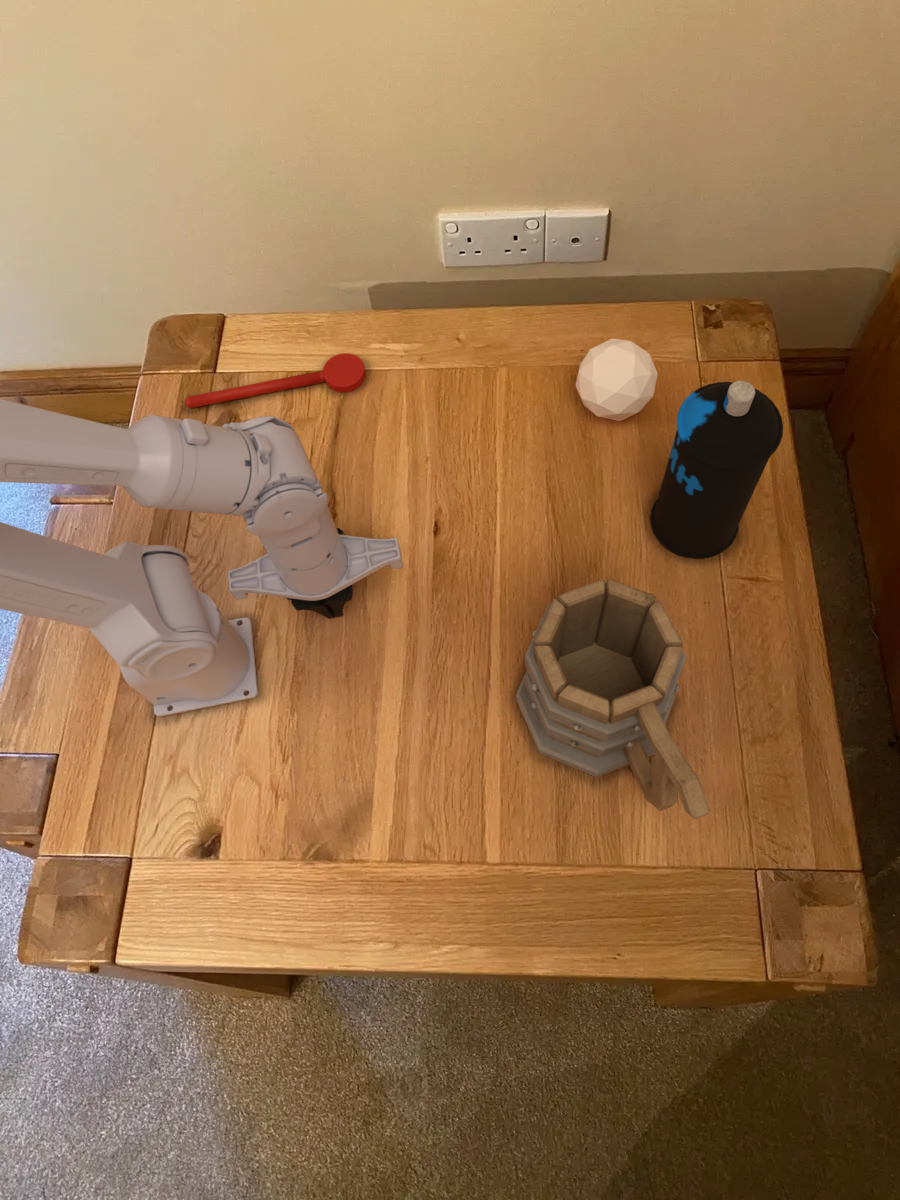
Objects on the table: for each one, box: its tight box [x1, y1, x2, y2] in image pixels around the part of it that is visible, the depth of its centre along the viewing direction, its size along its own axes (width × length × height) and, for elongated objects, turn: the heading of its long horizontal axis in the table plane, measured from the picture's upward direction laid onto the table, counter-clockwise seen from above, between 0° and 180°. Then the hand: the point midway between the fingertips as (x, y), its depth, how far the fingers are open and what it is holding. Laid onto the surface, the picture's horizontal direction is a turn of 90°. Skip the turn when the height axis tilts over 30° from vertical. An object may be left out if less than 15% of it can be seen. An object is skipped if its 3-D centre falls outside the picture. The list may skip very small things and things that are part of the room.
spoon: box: [184, 352, 366, 409], centre depth 94 cm, size 19×4×1 cm, turn 100°
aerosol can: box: [650, 380, 784, 560], centre depth 75 cm, size 8×8×20 cm
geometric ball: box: [575, 338, 658, 422], centre depth 87 cm, size 8×8×8 cm
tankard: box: [515, 578, 711, 820], centre depth 70 cm, size 20×13×15 cm, turn 21°
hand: (334, 607), depth 82 cm, fingers closed, pressing on tape measure
